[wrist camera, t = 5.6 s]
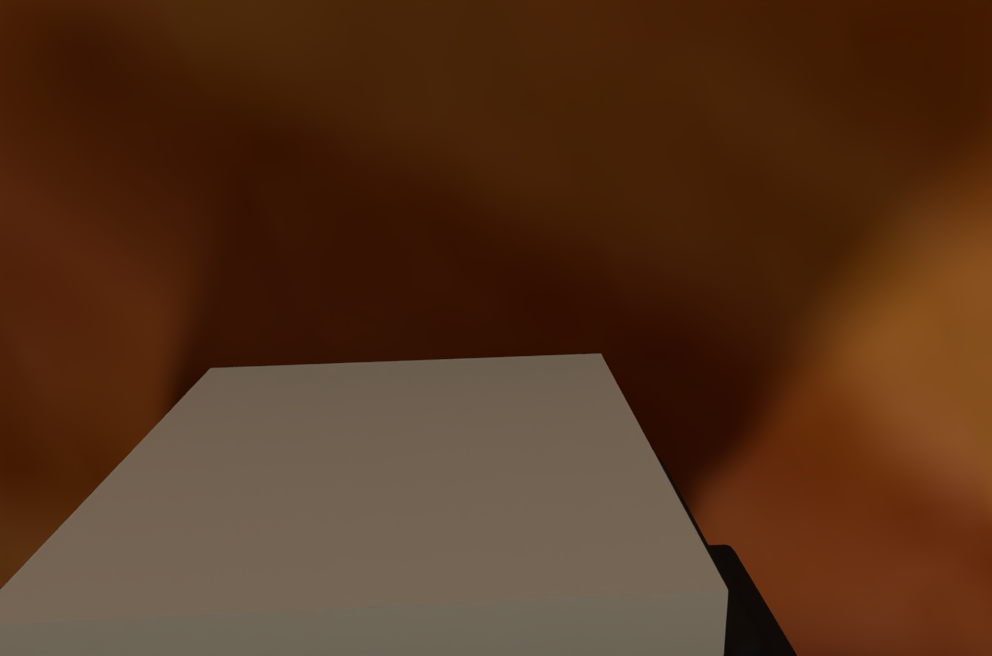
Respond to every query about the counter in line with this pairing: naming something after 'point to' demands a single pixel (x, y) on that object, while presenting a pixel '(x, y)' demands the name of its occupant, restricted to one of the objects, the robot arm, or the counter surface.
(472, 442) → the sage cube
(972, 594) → the counter surface
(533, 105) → the counter surface
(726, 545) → the robot arm
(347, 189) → the counter surface
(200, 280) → the counter surface
